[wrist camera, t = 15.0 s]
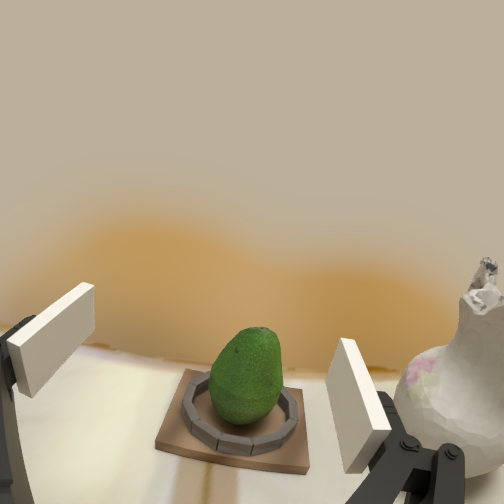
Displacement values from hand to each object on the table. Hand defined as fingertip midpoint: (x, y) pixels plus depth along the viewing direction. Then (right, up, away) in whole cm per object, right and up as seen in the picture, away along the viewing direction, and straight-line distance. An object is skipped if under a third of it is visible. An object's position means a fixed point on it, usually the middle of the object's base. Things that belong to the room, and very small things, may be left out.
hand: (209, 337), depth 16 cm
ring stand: (0, -16, +19) cm, 25 cm away
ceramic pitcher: (+26, -22, +16) cm, 37 cm away
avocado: (0, -15, +18) cm, 24 cm away
